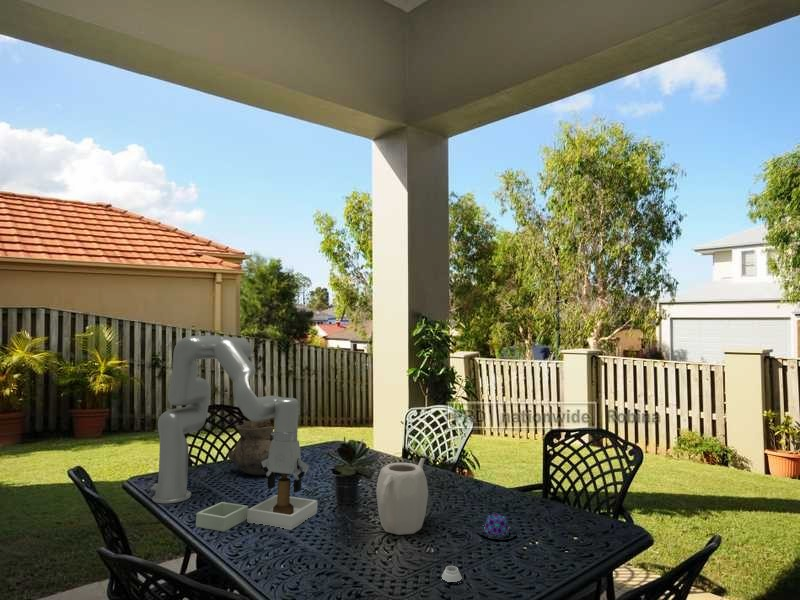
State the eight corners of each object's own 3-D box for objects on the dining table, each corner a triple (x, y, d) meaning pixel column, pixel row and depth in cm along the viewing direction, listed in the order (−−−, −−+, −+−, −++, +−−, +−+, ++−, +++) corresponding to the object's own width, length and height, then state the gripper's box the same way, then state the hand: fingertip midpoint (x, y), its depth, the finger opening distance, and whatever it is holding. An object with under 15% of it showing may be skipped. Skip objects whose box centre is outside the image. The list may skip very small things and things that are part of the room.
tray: (247, 522, 158) (247, 509, 158) (276, 506, 173) (276, 494, 173) (291, 529, 152) (291, 516, 153) (317, 512, 167) (317, 500, 168)
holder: (195, 526, 154) (196, 513, 154) (221, 514, 165) (221, 501, 165) (223, 531, 150) (224, 517, 150) (247, 518, 161) (248, 505, 161)
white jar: (460, 587, 120) (463, 577, 124) (460, 574, 120) (463, 565, 125) (439, 584, 121) (443, 574, 126) (439, 571, 121) (443, 562, 126)
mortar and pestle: (288, 518, 159) (290, 460, 160) (269, 517, 160) (271, 459, 161) (296, 511, 165) (298, 455, 167) (278, 510, 166) (279, 454, 168)
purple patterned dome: (476, 541, 147) (476, 522, 147) (476, 526, 159) (476, 509, 159) (518, 544, 145) (518, 525, 146) (514, 528, 157) (514, 511, 158)
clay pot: (221, 471, 215) (223, 420, 217) (271, 462, 231) (272, 415, 233) (247, 485, 197) (249, 429, 198) (300, 474, 213) (301, 423, 214)
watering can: (444, 519, 163) (445, 460, 165) (404, 548, 140) (405, 479, 142) (403, 510, 171) (403, 453, 172) (358, 536, 148) (359, 471, 150)
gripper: (256, 436, 164) (254, 489, 163) (302, 440, 158) (301, 496, 157) (269, 432, 171) (268, 483, 170) (314, 436, 165) (313, 489, 164)
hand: (284, 489), depth 163 cm, fingers open, 9 cm apart
